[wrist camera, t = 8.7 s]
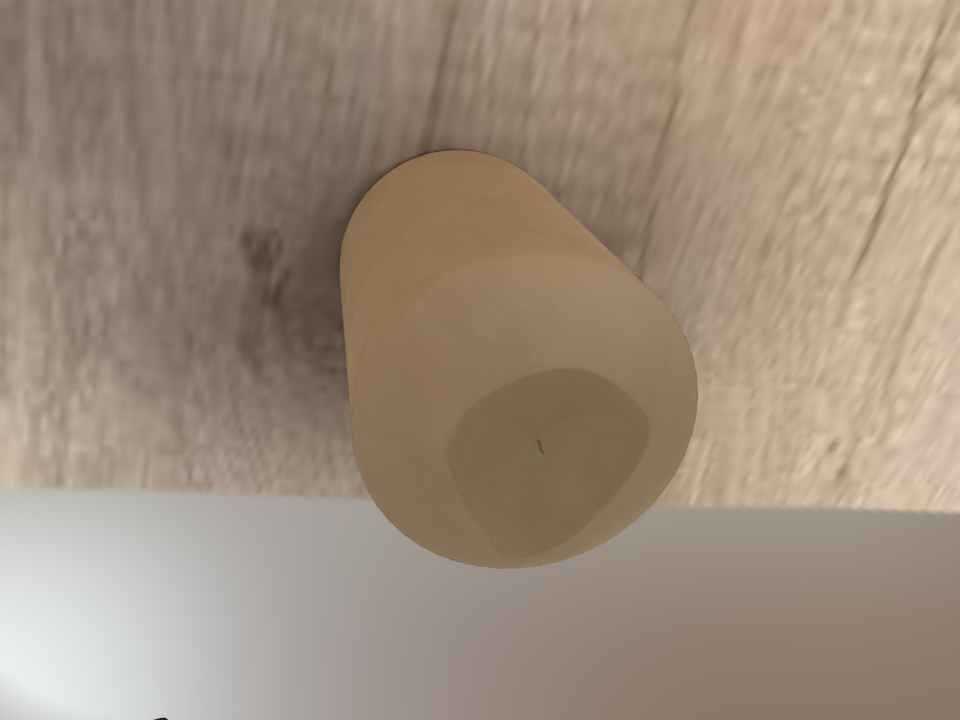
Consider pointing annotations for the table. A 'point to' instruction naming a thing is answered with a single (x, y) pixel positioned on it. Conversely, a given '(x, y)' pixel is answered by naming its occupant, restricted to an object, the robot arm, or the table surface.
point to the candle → (504, 367)
